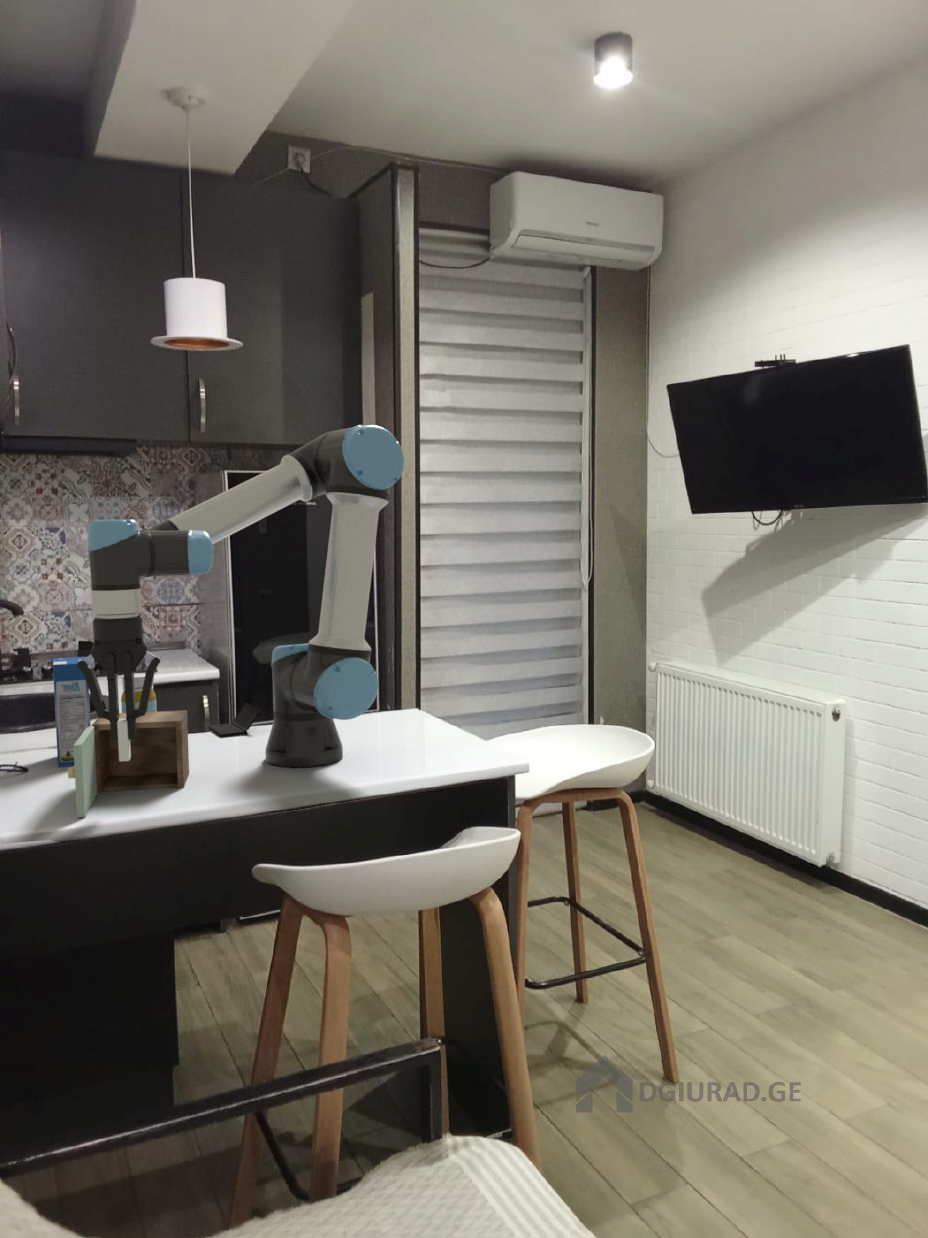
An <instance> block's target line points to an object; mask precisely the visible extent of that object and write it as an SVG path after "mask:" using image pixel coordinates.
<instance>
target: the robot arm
mask: <svg viewBox="0 0 928 1238" xmlns="http://www.w3.org/2000/svg"><path fill="white" fill-rule="evenodd" d="M404 459H405V457H404V452H403V449H402V446H401V444H400V442H399V441H398V440H397V439H396V437H395V436H394V435H393V434H392V433H391V432H390V431H389V430H388V429H386V428H384V427H382V426H379V425H375V424H369V425H367V424H366V425H365V424H358V425H355V426H353V427H347V428H342V429H337V430H336V429H335V430H331V431H328V432H325V433H323V434H321V435H320V436H318V437H316V438H314V439H313V440H311V441H309V442H308V443H305V444H304V445H303V446H300V447H299V448H297V449H296V450H294V451H292V452H290V453H288V454H286V455H284V456H282V458H281V461H280V463H279V464H278V465H276V466H274V467H272V468H270V469H268V470H265V471H264V472H262V473H260V474H258V475H256V476H254V477H252V478H249V479H247V480H245V481H243V482H241V483H239V484H238V485H236V486H234V487H232V488H229V489H227V490H225V491H223V492H220V493H219V494H217V495H215V496H213V497H212V498H208V499H207V500H204V501H203V502H201V503H199V504H196V505H195V506H193V507H191V508H188V509H187V510H185V511H182V512H181V513H178V514H176V515H174V516H172V517H171V518H169V519H167V520H165V521H162V522H161V523H158V524H156V525H154V526H153V527H150V528H148V529H141V530H140V529H139V527H138V522H137V521H136V520H135V519H133V518H132V519H96V520H93V521H91V522H90V523H89V524H88V537H87V538H88V541H87V543H88V546H87V551H88V560H89V571H90V584H91V586H90V587H91V588H90V596H91V613H92V615H95V616H96V617H94V618H93V620H92V632H93V633H92V634H93V645H92V648H91V651H90V654H89V655H88V656H85V657H86V658H85V659H82V660H80V661H79V662H78V664H77V666H78V668H79V669H80V670H81V671H82V673H83V674H84V675H85V678H86V681H87V684H88V687H89V694H90V696H91V700H92V703H93V705H94V709H95V712H96V714H97V718H104V719H107V720H109V721H110V728H111V739H112V741H115V740H118V746H119V762H120V761H129V760H130V758H131V748H130V739H135V737H136V735H137V731H136V718H138V717H140V716H144V715H145V713H146V712H147V708H148V703H149V699H150V694H151V689H152V684H153V685H154V678H155V673H156V669H157V668H158V667H159V665H160V663H161V662H162V657H161V656H160V655H155V654H153V653H151V652H150V651H148V647H147V645H146V644H145V642H144V631H143V629H144V627H143V626H144V625H143V617H141V616H140V615H139V614H140V613H142V607H143V605H142V591H141V589H142V587H141V585H142V584H141V578H153V577H155V578H157V577H180V576H181V577H183V576H190V577H193V576H196V575H197V576H198V575H205V574H208V573H209V572H210V571H211V570H212V567H213V565H214V560H215V559H214V558H215V552H214V549H215V548H214V544H216V543H219V541H222V540H224V539H226V538H227V537H229V536H231V535H233V534H235V533H238V532H239V531H241V530H243V529H245V528H247V527H249V526H251V525H253V524H255V523H257V522H259V521H260V520H263V519H264V518H266V517H268V516H270V515H272V514H274V513H276V512H278V511H280V510H282V509H284V508H286V507H288V506H290V505H291V504H294V503H295V502H297V501H302V502H304V503H306V502H307V503H308V502H309V501H311V500H312V499H315V498H316V497H320V496H323V495H325V497H327V499H328V500H329V501H330V503H331V505H332V512H331V519H330V520H331V521H330V527H329V528H330V530H329V536H328V547H327V556H326V563H325V573H324V579H323V580H324V581H323V588H322V589H323V590H322V598H321V599H322V600H321V607H320V614H319V615H320V616H319V623H318V624H319V625H318V632H317V634H316V635H315V636H314V637H313V638H311V639H310V640H309V641H308V643H300V644H299V643H298V644H288V645H287V644H285V645H278V646H276V647H275V648H273V649H272V652H271V653H272V654H271V663H270V667H271V676H272V678H271V679H272V702H273V703H272V706H273V724H272V726H271V730H270V734H269V736H268V739H267V743H266V747H265V761H266V762H267V763H268V764H271V765H273V766H277V767H287V768H304V767H308V768H309V767H318V766H325V765H328V764H333V763H335V762H338V761H341V759H343V755H344V754H343V753H344V752H343V743H342V739H341V738H340V735H339V731H338V730H337V729H338V728H337V726H336V723H335V720H341V721H347V720H352V719H356V718H358V717H360V716H361V715H362V714H364V713H365V712H366V711H367V710H368V709H370V707H371V706H372V705H373V704H374V701H375V700H376V698H377V694H378V691H379V690H378V689H379V678H378V674H377V672H376V670H375V669H374V667H373V665H372V664H371V656H372V648H371V646H370V644H369V643H368V642H367V641H366V639H365V638H366V637H365V635H366V625H367V620H368V619H367V618H368V610H369V608H368V607H369V602H370V601H369V600H370V592H371V583H372V573H373V568H374V567H373V566H374V565H373V564H374V558H375V549H376V548H375V547H376V542H377V541H376V540H377V531H378V524H379V514H380V512H381V510H382V509H383V508H385V506H387V505H388V504H389V499H390V490H391V487H393V485H394V484H396V483H397V481H399V480H400V478H401V476H402V474H403V472H404V468H405V467H404V465H405V460H404ZM143 659H145V662H144V665H145V666H146V667H147V668H146V670H145V673H146V674H145V679H144V684H143V689H142V694H141V699H140V704H139V708H138V709H136V705H135V687H134V673H135V670H136V669H137V668H138V666H139V665H140V663H142V661H143ZM95 663H97V664H98V665H99V666H100V667H101V668H102V670H103V671H104V672H106V682H107V694H108V695H107V696H108V697H107V698H108V709H107V706H106V702H105V699H104V695H103V693H102V690H101V686H100V683H99V680H98V678H97V674H96V671H95V669H94V668H95V667H96V664H95ZM118 673H122V674H123V675H124V682H125V700H126V718H124V719H119V716H120V714H119V713H120V705H119V704H120V701H119V699H120V698H119V684H118V683H119V682H118V681H119V680H118V676H119V674H118Z"/></svg>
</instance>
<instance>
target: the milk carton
mask: <svg viewBox="0 0 928 1238" xmlns="http://www.w3.org/2000/svg"><path fill="white" fill-rule="evenodd" d="M86 657H87V656H76V657H59V658H58V657H57V658H53V659H52V673H53V674H52V675H53V677H52V679H53V692H54V693H53V695H54V712H55V734H56V750H57V751H56V753H57V754H56V755H57V767H58V768H62V767H63V768H65V767H75V766H74V744H75V743H76V741H77V740H78V739H79V737H80V736H81V735H82V733H83V732H84V731H85V729H86V728H88V727H89V726H92V724H91V708H90V705H91V704H90V690H89V687H88V684H87V681H86V678H85V675H84V674H83V673H82V671H81V670H80V669H79V668H78V666H77V664H78V662H79V661H80V660H82V659H85V658H86Z"/></svg>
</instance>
